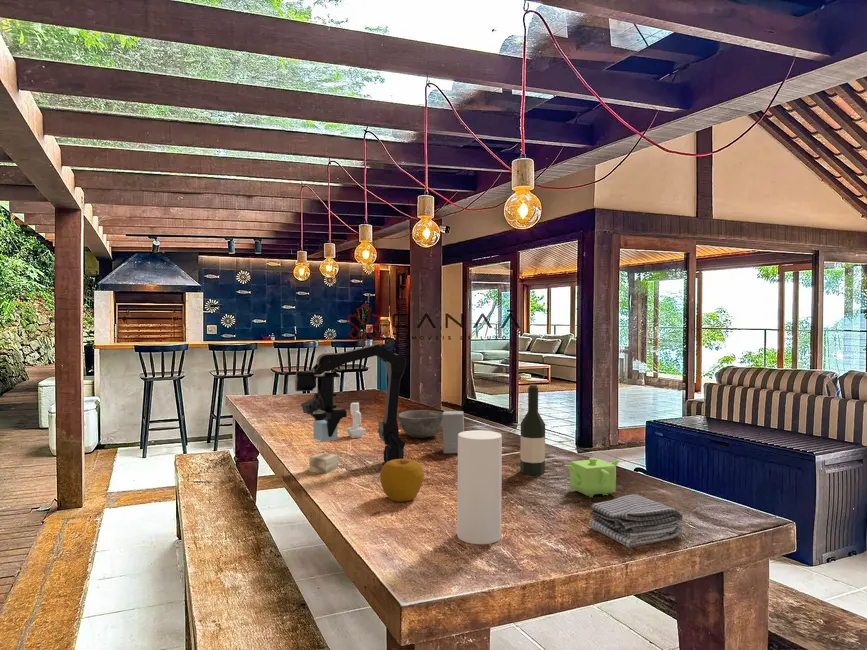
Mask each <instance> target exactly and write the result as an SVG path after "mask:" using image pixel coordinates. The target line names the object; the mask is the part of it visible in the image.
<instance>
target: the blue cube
mask: <svg viewBox="0 0 867 650" xmlns="http://www.w3.org/2000/svg"><path fill="white" fill-rule="evenodd" d="M312 422H313V423H312V424H313V429H312V431H313V434H312V435H313V439H314V440H317V441H320V442H327V441H335V440H338V427H339V426H338V425H339V424H338V425H337V427H336V429H335V431H334V433H333V435H332V437H329V436H328V428H327V422H326V420H319V421H315V420H314V421H312Z"/></svg>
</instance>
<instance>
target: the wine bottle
mask: <svg viewBox="0 0 867 650" xmlns="http://www.w3.org/2000/svg"><path fill="white" fill-rule="evenodd" d="M527 394H528V395H527V412H526V414H525V415H524V417H523V419H522V421H521V422H520V447H519V448H520V455H519V456H520V459H519V462H520V463H519V464H520V470H519V471H520V473H522V474H523V475H530V476H542V475H544V474H545V473H546V423H545V421H544V420H543V417H542V416H541V414H540V413H539V387H538V385H537V384H529V386H528V387H527Z"/></svg>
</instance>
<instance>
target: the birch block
mask: <svg viewBox="0 0 867 650" xmlns="http://www.w3.org/2000/svg"><path fill="white" fill-rule="evenodd" d="M308 462H309V468H308V469H309V470H308V471H309V472H311V473H318V474H325V475H326V474H329V473H332V472H334V471H337V470H339V454H332V453H325V452H321V453H318V454H315V455H312V456H310V457H309V461H308ZM336 469H337V470H336Z"/></svg>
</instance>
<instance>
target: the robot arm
mask: <svg viewBox="0 0 867 650" xmlns="http://www.w3.org/2000/svg"><path fill="white" fill-rule="evenodd" d="M375 356H376V357H378V358H379V359H380V360H381V361H383V362H385V368H386V370H385V371H386V374H387V390H386V397H385V398H386V399H385V407H384V408H385V409H384V417H383V420H382V421H378V429H377V433H378V437H379V439H380V440H381V441H383V443H384V445H385V446H384V449H383V462H381V464H382V465H384V464H385V463H386V462H388V461H390V460H394V459H405V453H404V451H405V450H404V449H405V445H406V442H405V441H404V440H403V439H402V438H401V437H400V430H399V424H398V420H397V418H398V408H399V407H398V406H399V398H400V387H401V379H402V377H403V375H404V373H405V369H406V366H407V359H406V357H404V356H403V355H401V354H398V353H394V352H392V351H391V350H388V349H387V348H385V347H383V346H382V345H381V344H378V343H373V344H372V345H368V346H364V347H359V348H356V349H351V350H347V351H344V352H343V351H342V352H331V353H329V352H328V353H322V354H320V355H318V356H317V358H316V361H315V362H316V363H315V365H314V366H312V368H311V370H310V371H300V370H299V371H298V370H297V371H296V372H295V380H294V390H295V392H312V391H314V389H316V388H317V389H316V390H317V391H316V392H315V393H314V394H313V398H311V399H308V400H306V401H305V402H304V401H303V402H302V403H301V404H300V406H301V409H302V411H303V414H307V415H310V416H311V417H312V418H313V419H314V421H319V420H326V422H327V428H328V436H329V437H332V435H333V433H334V431H335V429H336V427H337V425H339V423H340V422H341V420H342V419H343V418H347V417H348V415H347V413H348V412H347V410H346V409H345V408H342V407H337V404H335V397H337V392H335V378H340V377H341V375H340V374H339V373H338V372H337V370H336V369H337V368H339V367H341V366H343V365H345V364H348V363H353V362H357V361H360V360H364V359H369V358H371V357H372V358H373V357H375ZM321 374H322V375H321Z"/></svg>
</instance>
